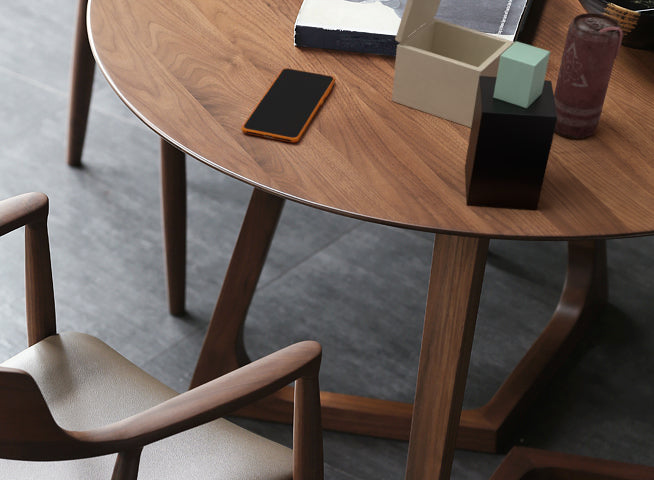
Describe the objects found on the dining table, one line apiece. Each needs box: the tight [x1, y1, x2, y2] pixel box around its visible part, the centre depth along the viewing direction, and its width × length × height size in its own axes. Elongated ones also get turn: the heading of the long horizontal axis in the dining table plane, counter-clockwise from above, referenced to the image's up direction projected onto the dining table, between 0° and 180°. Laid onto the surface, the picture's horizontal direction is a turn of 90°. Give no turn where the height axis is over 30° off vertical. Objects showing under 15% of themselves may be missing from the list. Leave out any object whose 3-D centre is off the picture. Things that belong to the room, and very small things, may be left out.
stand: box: [464, 76, 557, 211], centre depth 121 cm, size 8×8×12 cm
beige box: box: [391, 17, 515, 129], centre depth 138 cm, size 12×10×8 cm
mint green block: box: [493, 40, 551, 108], centre depth 116 cm, size 4×4×5 cm
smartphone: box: [241, 67, 336, 143], centre depth 137 cm, size 8×17×1 cm, turn 162°
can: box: [553, 12, 623, 140], centre depth 131 cm, size 6×6×14 cm
